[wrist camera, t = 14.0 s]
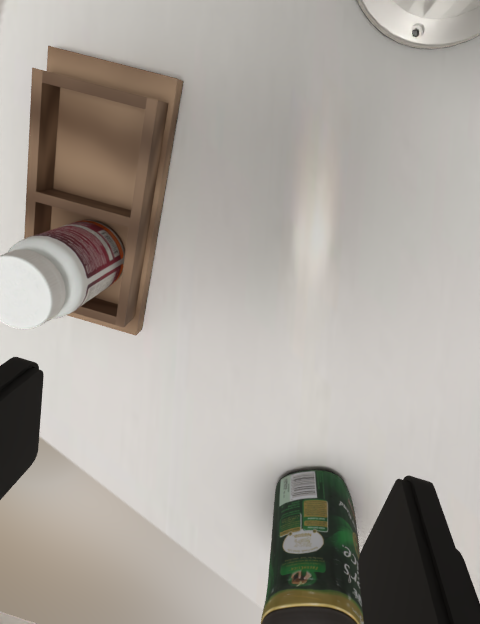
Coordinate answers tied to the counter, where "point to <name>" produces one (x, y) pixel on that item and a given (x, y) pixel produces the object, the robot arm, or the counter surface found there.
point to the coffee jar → (313, 553)
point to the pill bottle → (57, 272)
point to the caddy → (102, 166)
